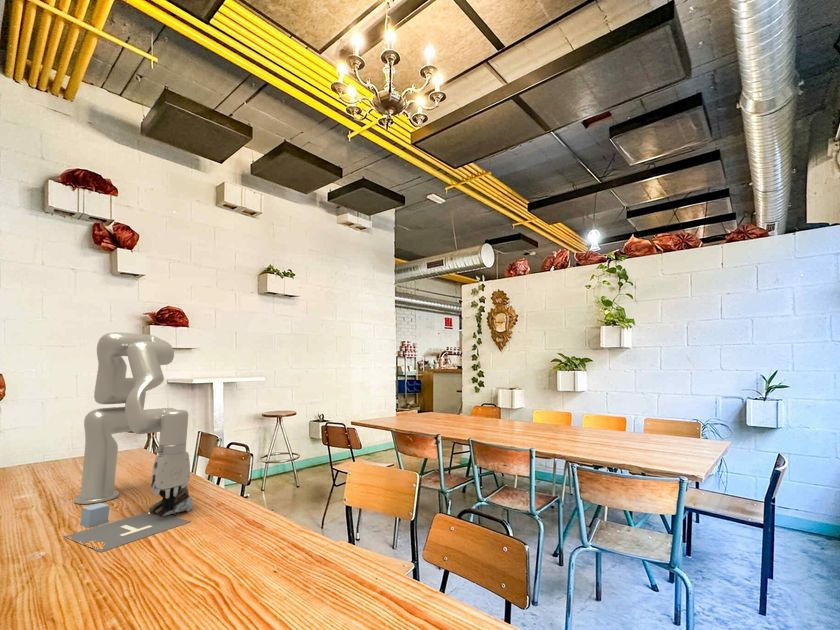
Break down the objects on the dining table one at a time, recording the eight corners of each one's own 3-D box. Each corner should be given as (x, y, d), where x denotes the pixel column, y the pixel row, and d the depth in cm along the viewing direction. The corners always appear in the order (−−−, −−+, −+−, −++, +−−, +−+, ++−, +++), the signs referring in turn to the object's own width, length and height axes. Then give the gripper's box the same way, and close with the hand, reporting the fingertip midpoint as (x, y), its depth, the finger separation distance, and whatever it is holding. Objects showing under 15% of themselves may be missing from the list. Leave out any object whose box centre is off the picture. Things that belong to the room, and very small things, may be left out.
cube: (80, 525, 123) (81, 507, 123) (99, 519, 127) (101, 502, 128) (88, 528, 120) (90, 510, 121) (107, 522, 125) (109, 505, 125)
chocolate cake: (156, 521, 126) (190, 488, 132) (146, 510, 130) (180, 478, 136) (174, 535, 132) (206, 502, 138) (164, 524, 136) (195, 492, 142)
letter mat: (63, 536, 114) (63, 536, 114) (153, 510, 135) (153, 510, 135) (100, 552, 104) (100, 551, 104) (191, 521, 125) (191, 521, 125)
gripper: (154, 455, 123) (149, 519, 121) (201, 446, 136) (198, 505, 134) (140, 452, 127) (135, 515, 124) (188, 444, 140) (184, 501, 137)
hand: (167, 510), depth 129 cm, fingers closed
